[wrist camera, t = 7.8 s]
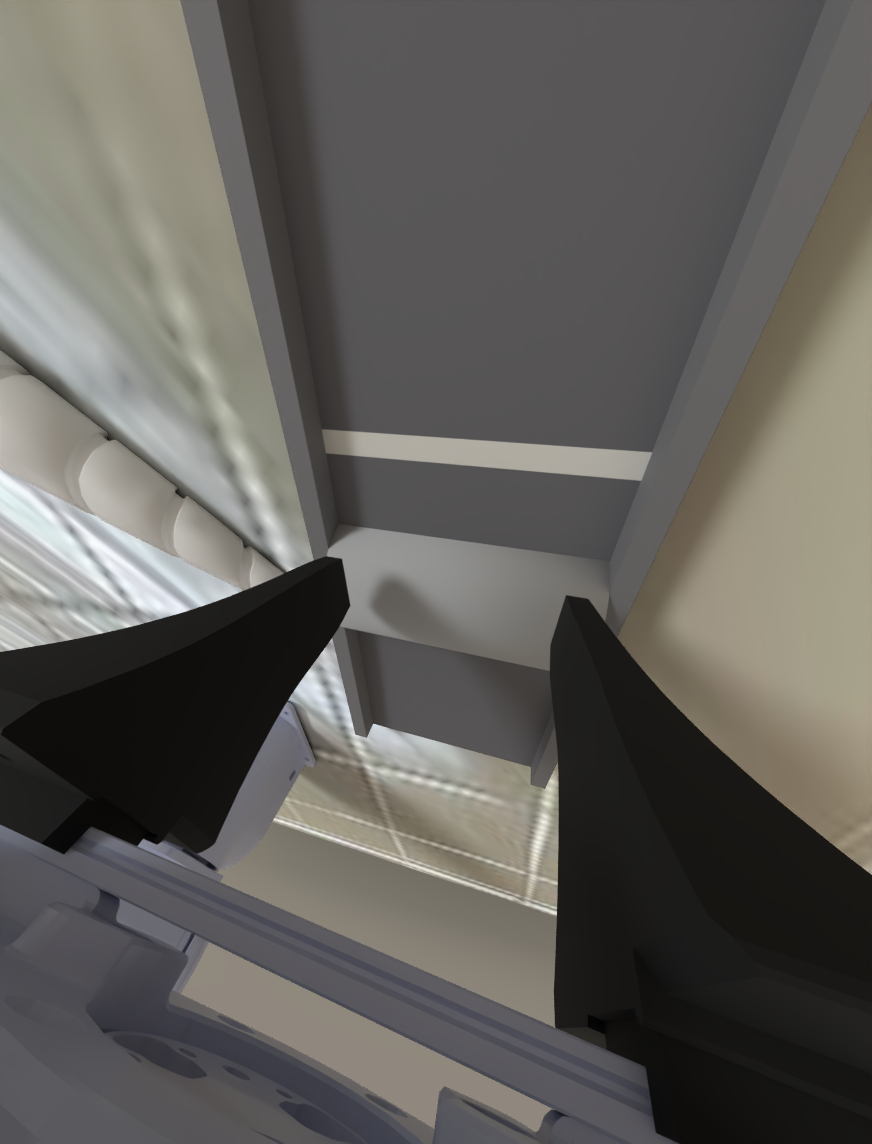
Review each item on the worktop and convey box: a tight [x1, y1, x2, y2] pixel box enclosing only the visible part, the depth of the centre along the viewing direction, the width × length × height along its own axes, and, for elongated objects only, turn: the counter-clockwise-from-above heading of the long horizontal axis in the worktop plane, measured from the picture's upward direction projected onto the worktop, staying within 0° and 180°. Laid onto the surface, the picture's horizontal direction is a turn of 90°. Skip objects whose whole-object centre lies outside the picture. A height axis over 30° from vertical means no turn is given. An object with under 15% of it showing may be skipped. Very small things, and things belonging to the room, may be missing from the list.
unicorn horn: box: [0, 350, 284, 590], centre depth 14 cm, size 5×24×5 cm, turn 48°
